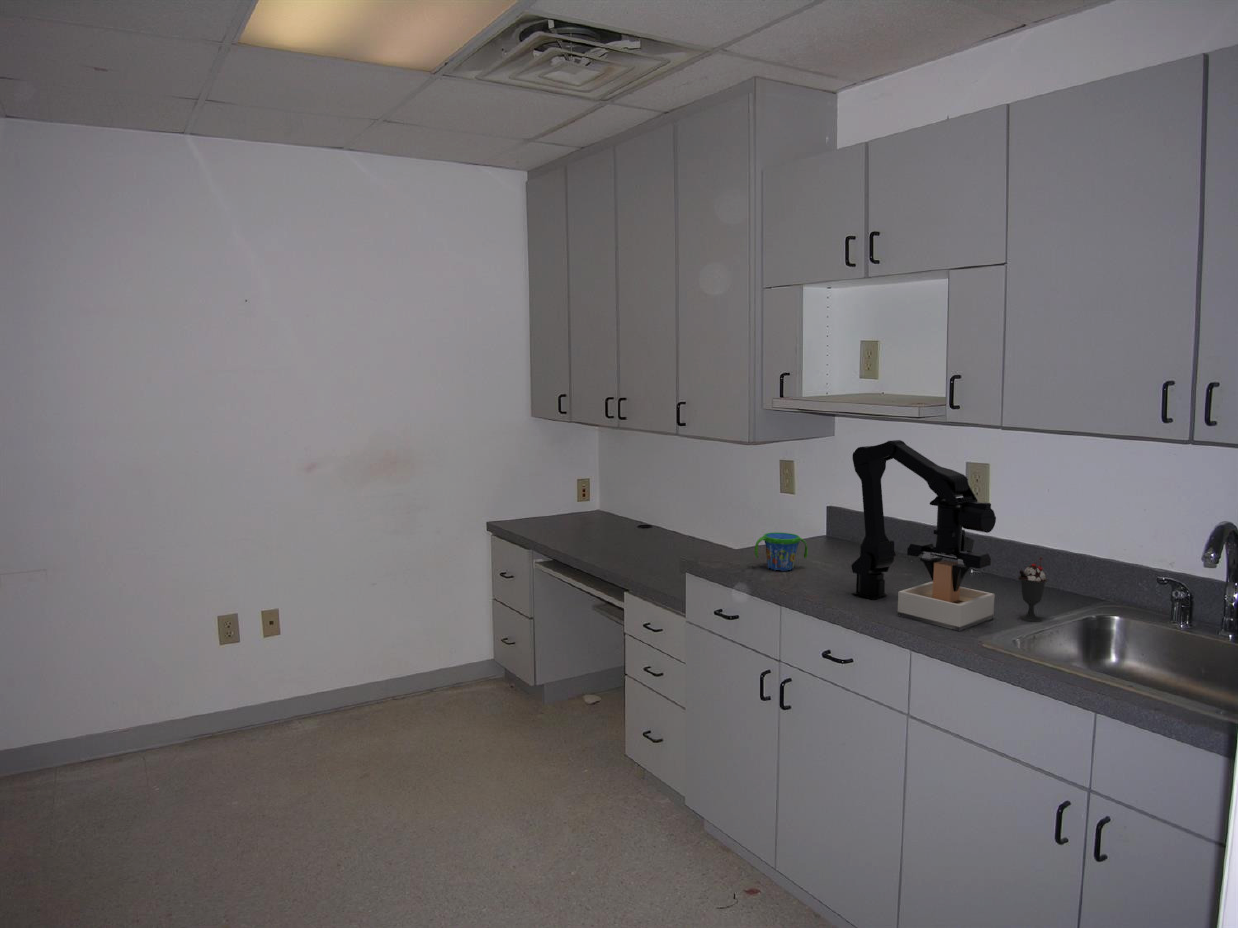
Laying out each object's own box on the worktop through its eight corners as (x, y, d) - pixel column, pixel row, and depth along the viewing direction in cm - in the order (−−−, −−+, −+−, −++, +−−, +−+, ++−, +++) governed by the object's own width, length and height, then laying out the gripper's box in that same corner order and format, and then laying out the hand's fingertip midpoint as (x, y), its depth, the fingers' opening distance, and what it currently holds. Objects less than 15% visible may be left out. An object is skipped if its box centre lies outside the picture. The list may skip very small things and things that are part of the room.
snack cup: (804, 565, 263) (805, 532, 262) (809, 573, 252) (810, 539, 251) (752, 564, 264) (753, 531, 263) (755, 572, 254) (756, 538, 252)
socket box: (897, 615, 211) (898, 591, 210) (932, 604, 221) (933, 581, 221) (959, 631, 199) (960, 605, 198) (993, 618, 209) (994, 594, 208)
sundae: (1049, 618, 209) (1053, 557, 207) (1041, 624, 204) (1044, 562, 202) (1020, 613, 213) (1024, 553, 212) (1011, 619, 208) (1015, 558, 207)
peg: (932, 599, 210) (934, 562, 209) (942, 596, 213) (943, 560, 212) (949, 603, 207) (951, 566, 205) (959, 599, 209) (961, 563, 208)
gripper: (1003, 527, 206) (1000, 591, 207) (931, 516, 220) (928, 576, 222) (980, 533, 198) (976, 599, 200) (907, 521, 213) (904, 583, 214)
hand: (946, 589), depth 209 cm, fingers closed on peg, 4 cm apart
